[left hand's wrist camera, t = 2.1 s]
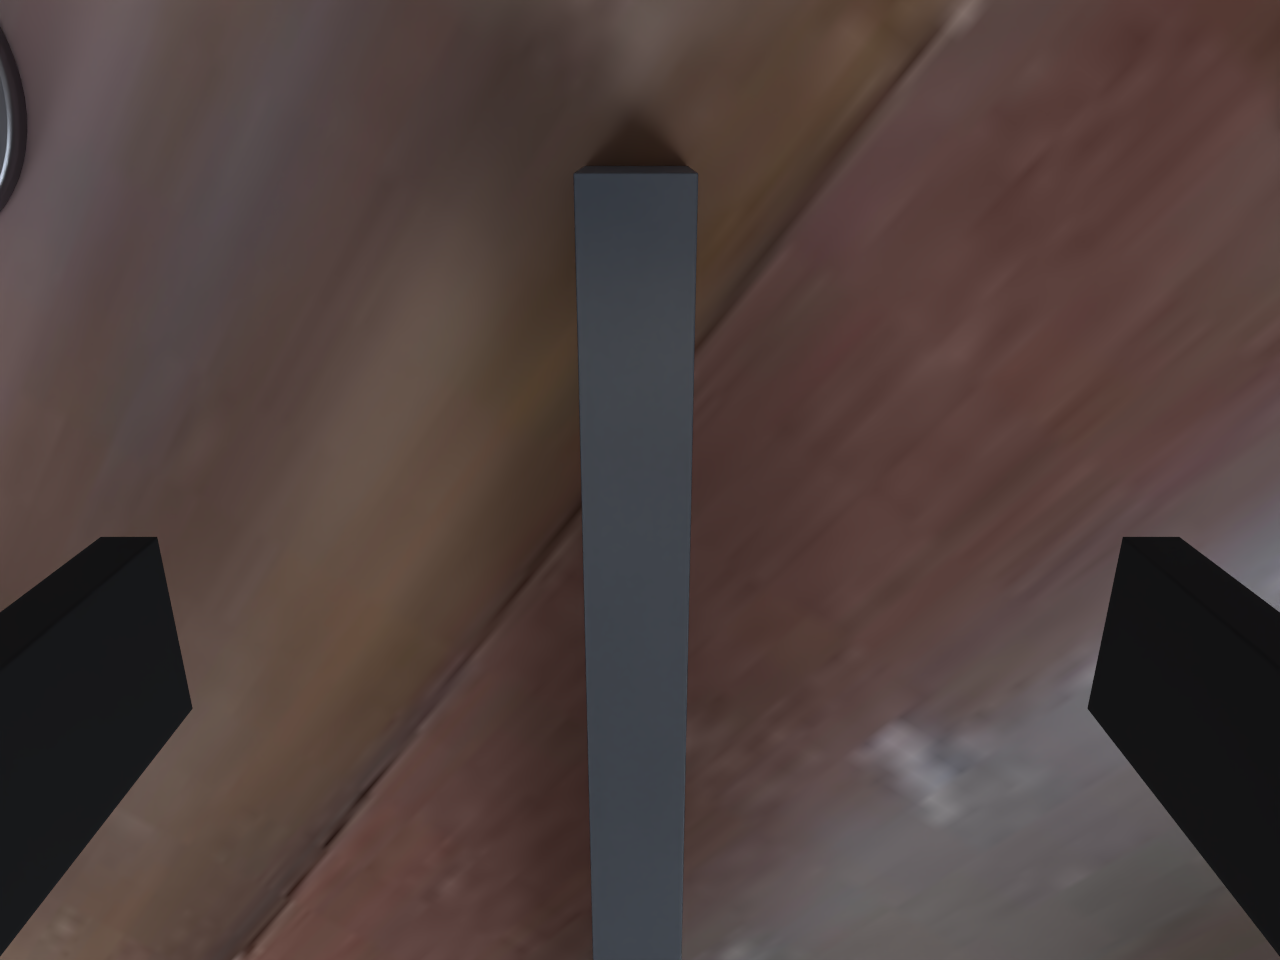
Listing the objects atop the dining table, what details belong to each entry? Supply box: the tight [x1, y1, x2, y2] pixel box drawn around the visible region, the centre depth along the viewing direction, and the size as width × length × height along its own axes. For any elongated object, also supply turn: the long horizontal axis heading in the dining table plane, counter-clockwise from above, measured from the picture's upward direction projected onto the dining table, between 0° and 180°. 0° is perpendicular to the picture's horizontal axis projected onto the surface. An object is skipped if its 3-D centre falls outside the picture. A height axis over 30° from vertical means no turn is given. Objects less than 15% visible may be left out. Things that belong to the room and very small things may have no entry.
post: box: [574, 166, 698, 960], centre depth 53 cm, size 72×5×8 cm, turn 0°
